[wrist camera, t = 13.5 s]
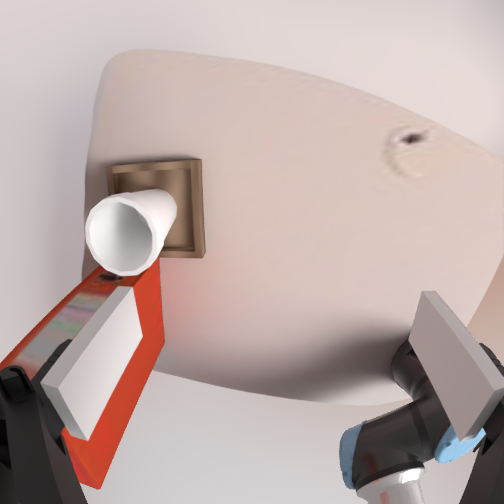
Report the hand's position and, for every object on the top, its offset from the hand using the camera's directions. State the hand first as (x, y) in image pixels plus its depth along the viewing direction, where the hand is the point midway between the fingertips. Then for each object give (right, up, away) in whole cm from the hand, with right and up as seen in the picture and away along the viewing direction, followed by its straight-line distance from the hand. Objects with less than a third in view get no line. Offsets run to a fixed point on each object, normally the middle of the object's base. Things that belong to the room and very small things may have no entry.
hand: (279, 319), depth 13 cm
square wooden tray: (-15, +9, +32) cm, 37 cm away
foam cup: (-15, +9, +32) cm, 36 cm away
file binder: (-20, -5, +39) cm, 44 cm away
